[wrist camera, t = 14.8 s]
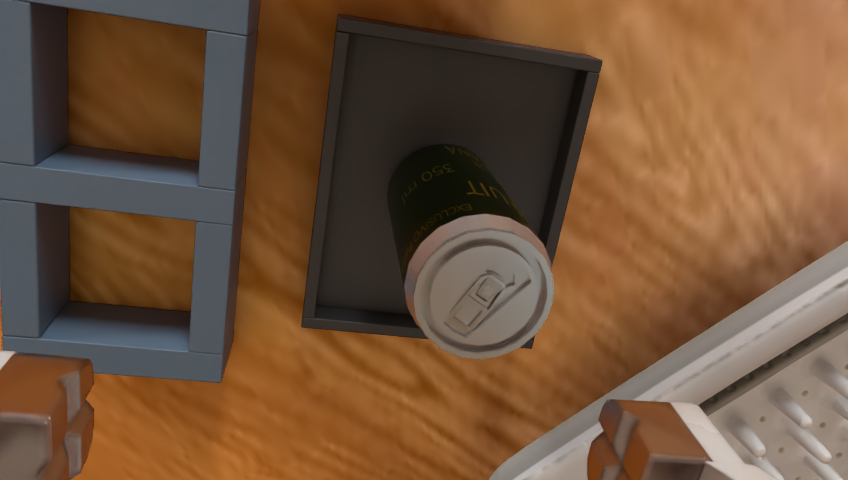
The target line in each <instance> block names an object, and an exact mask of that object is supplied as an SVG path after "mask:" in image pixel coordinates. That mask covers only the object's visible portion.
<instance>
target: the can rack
mask: <svg viewBox="0 0 848 480" xmlns="http://www.w3.org/2000/svg"><path fill="white" fill-rule="evenodd" d="M259 7H260V0H0V291H1V312H2V333H3V336H2V340H3V351H15V352H17V353H19V352H24V353H35V354H45V355H56V356H66V357H77V358H87V359H90V360H91V362H92V364H93V373H101V374H114V375H127V376H139V377H152V378H164V379H177V380H190V381H202V382H215V383H221V381H222V378H223V374H224V371H225V367H226V364H227V360H228V357H229V353H230V350H231V346H232V343H233V333H234V320H235V308H236V296H237V283H238V271H239V258H240V246H241V233H242V221H243V208H244V195H245V183H246V170H247V168H246V167H247V157H248V145H249V132H250V120H251V107H252V95H253V82H254V70H255V57H256V45H257V32H258V30H257V28H258V20H259ZM67 8H70V9H77V10H83V11H90V12H96V13H102V14H109V15H115V16H121V17H128V18H134V19H141V20H147V21H153V22H160V23H166V24H173V25H179V26H185V27H192V28H198V29H204V30H207V34H206V52H205V70H204V88H203V106H202V123H201V141H200V159H199V161H193V160H185V159H178V158H170V157H162V156H154V155H146V154H138V153H131V152H123V151H115V150H107V149H99V148H91V147H83V146H76V145H68V69H67ZM69 206H70V207H79V208H88V209H97V210H105V211H114V212H123V213H132V214H140V215H149V216H158V217H167V218H175V219H184V220H193V221H196V229H195V247H194V265H193V283H192V301H191V312H182V311H171V310H160V309H150V308H139V307H129V306H118V305H107V304H97V303H86V302H75V301H69V300H70V274H69Z"/></svg>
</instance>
